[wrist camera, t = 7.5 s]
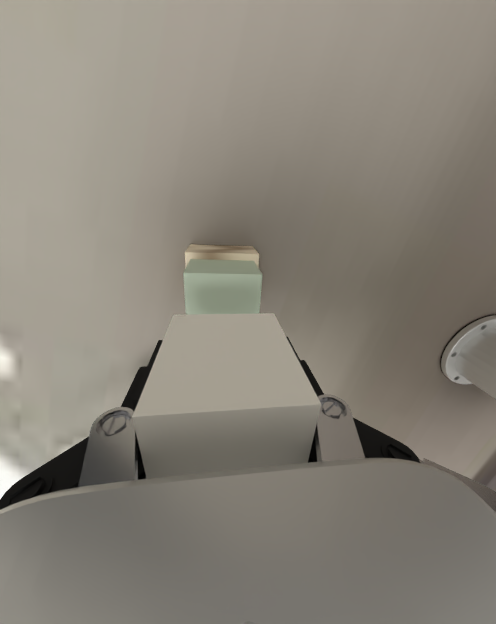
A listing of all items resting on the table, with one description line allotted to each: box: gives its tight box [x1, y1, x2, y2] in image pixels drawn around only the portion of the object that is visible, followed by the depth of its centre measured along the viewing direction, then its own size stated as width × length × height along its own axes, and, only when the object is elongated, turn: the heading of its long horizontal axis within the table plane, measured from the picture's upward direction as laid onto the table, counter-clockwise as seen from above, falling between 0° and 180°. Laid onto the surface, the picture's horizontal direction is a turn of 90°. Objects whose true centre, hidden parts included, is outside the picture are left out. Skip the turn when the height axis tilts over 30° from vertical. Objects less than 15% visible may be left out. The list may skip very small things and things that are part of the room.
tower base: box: [185, 244, 259, 267], centre depth 26 cm, size 7×7×5 cm
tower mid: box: [183, 259, 262, 315], centre depth 21 cm, size 6×6×5 cm
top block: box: [132, 313, 321, 479], centre depth 10 cm, size 5×5×6 cm
